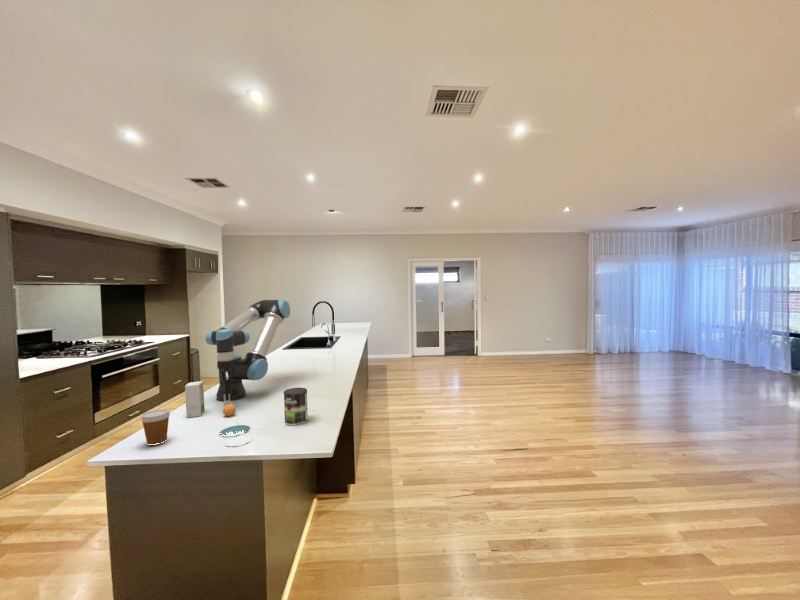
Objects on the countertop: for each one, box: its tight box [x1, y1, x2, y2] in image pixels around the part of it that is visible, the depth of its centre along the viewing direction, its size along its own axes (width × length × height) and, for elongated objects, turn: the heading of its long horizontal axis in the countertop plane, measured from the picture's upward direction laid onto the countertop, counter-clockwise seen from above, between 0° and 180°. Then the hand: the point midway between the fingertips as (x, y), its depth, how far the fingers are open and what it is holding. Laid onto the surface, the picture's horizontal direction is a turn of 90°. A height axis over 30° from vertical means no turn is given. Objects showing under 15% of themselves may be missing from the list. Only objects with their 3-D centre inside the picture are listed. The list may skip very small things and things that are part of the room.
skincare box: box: [184, 380, 206, 419], centre depth 167 cm, size 8×7×16 cm
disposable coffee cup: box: [140, 409, 171, 444], centre depth 136 cm, size 10×10×12 cm
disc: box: [218, 424, 251, 438], centre depth 146 cm, size 12×12×1 cm
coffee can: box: [283, 387, 309, 426], centre depth 155 cm, size 10×10×14 cm
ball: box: [222, 403, 237, 417], centre depth 165 cm, size 6×6×6 cm
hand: (227, 406), depth 173 cm, fingers closed
